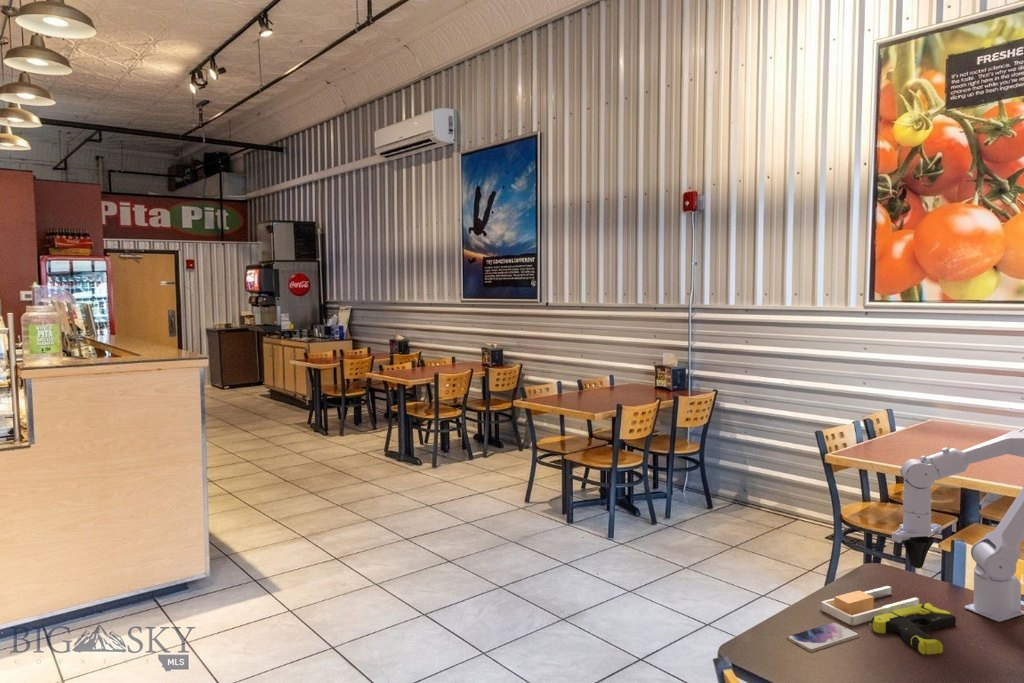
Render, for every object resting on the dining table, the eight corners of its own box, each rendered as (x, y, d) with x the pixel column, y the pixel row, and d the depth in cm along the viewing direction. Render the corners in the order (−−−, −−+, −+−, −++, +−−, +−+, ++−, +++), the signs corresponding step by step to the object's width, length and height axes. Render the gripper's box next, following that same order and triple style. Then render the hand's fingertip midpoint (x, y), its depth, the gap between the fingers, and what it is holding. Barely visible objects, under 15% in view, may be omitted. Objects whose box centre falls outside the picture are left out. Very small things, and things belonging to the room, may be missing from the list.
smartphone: (784, 636, 149) (833, 621, 155) (785, 640, 149) (834, 625, 155) (811, 650, 143) (861, 634, 149) (811, 654, 143) (861, 638, 149)
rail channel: (887, 592, 170) (887, 585, 170) (919, 606, 162) (919, 598, 162) (855, 601, 166) (855, 594, 166) (886, 615, 158) (886, 608, 158)
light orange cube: (859, 606, 163) (859, 590, 163) (873, 613, 160) (873, 596, 159) (846, 609, 162) (846, 593, 162) (861, 616, 158) (861, 600, 158)
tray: (853, 601, 166) (853, 593, 166) (885, 616, 158) (885, 607, 158) (820, 609, 162) (820, 601, 162) (852, 625, 154) (852, 617, 154)
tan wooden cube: (846, 609, 162) (846, 593, 162) (861, 616, 158) (861, 600, 158) (834, 613, 160) (834, 596, 160) (848, 620, 157) (848, 603, 156)
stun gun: (990, 629, 146) (926, 600, 160) (924, 646, 139) (864, 615, 153) (990, 642, 146) (926, 613, 160) (924, 660, 139) (863, 627, 153)
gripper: (922, 502, 168) (921, 555, 169) (880, 510, 163) (880, 566, 163) (950, 509, 162) (949, 565, 162) (907, 518, 156) (907, 576, 157)
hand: (916, 566), depth 162 cm, fingers closed
